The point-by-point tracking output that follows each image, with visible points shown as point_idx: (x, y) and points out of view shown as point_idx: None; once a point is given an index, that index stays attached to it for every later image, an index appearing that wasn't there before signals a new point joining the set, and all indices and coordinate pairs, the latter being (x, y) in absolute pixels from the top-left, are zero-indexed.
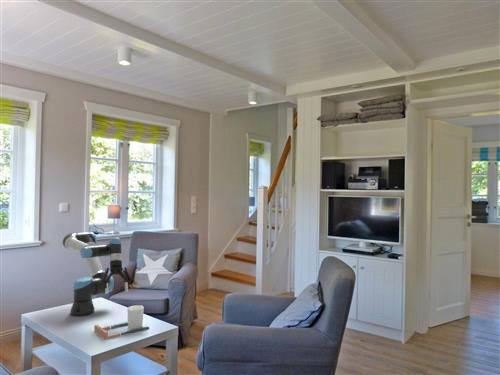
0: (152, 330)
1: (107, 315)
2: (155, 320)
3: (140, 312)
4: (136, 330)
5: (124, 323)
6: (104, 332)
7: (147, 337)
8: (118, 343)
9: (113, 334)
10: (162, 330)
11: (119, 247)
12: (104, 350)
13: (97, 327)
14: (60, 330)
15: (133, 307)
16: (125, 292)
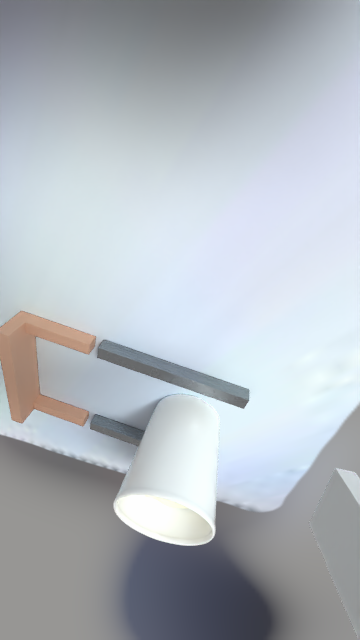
0: None
1: (254, 96)
2: (316, 445)
3: (166, 518)
4: None
5: (166, 380)
6: (11, 414)
7: None
8: (55, 439)
9: (58, 413)
10: (221, 493)
11: None
12: (5, 433)
13: (2, 361)
14: None
15: (185, 491)
16: (330, 481)
